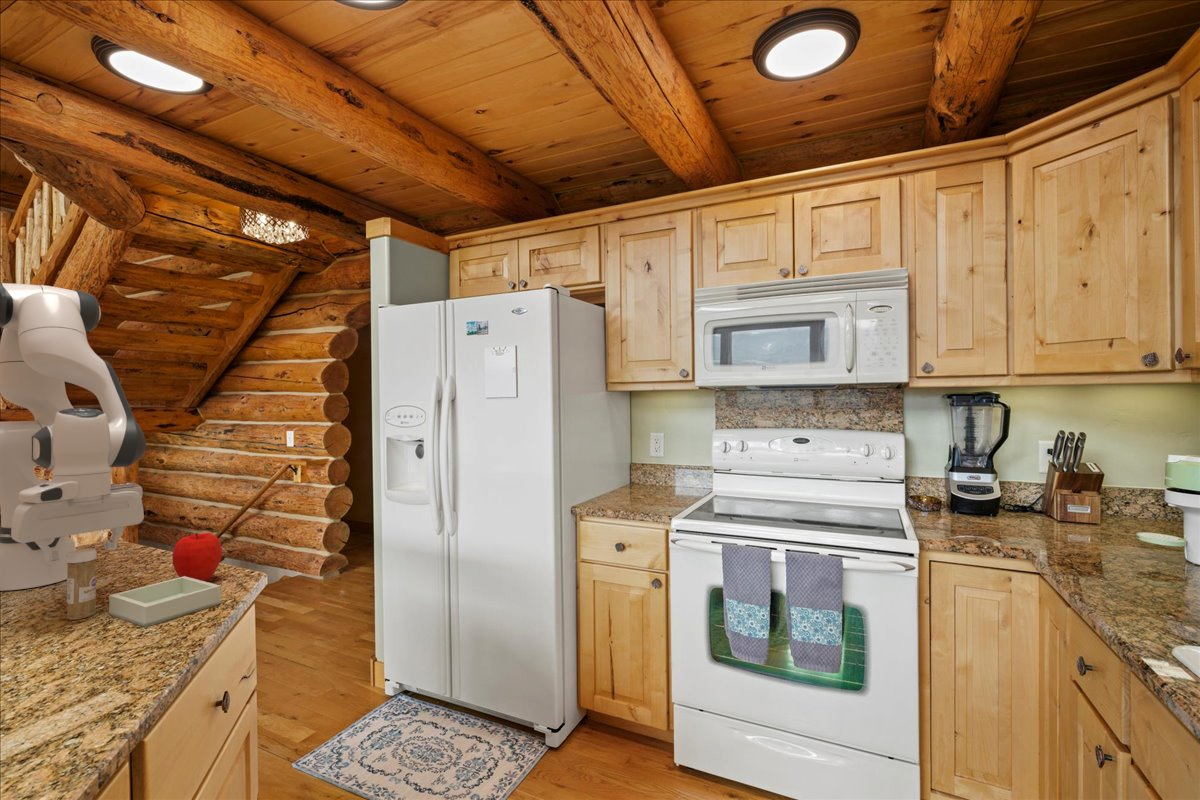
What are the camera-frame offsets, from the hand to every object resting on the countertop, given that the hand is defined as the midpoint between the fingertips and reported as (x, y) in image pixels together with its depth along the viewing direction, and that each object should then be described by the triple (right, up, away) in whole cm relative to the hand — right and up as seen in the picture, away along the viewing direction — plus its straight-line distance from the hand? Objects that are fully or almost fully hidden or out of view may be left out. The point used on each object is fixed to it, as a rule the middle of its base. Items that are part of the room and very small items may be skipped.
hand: (82, 554), depth 114 cm
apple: (+8, -13, +22) cm, 27 cm away
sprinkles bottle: (-1, -13, 0) cm, 13 cm away
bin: (+14, -13, +4) cm, 19 cm away
